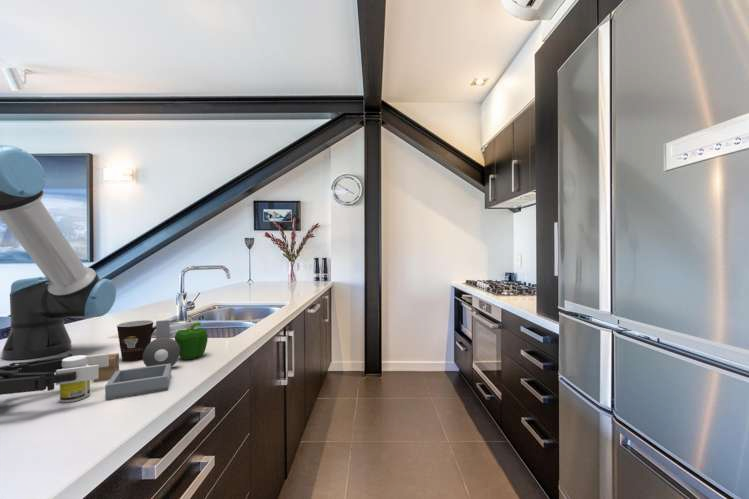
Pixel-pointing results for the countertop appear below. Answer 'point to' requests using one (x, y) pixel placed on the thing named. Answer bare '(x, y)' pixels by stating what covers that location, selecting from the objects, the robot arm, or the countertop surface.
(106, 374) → the wooden block
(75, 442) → the countertop surface
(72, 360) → the supplement bottle
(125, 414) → the countertop surface
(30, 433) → the countertop surface
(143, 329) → the coffee mug
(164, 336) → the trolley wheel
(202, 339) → the bell pepper
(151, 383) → the tray
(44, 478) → the countertop surface
